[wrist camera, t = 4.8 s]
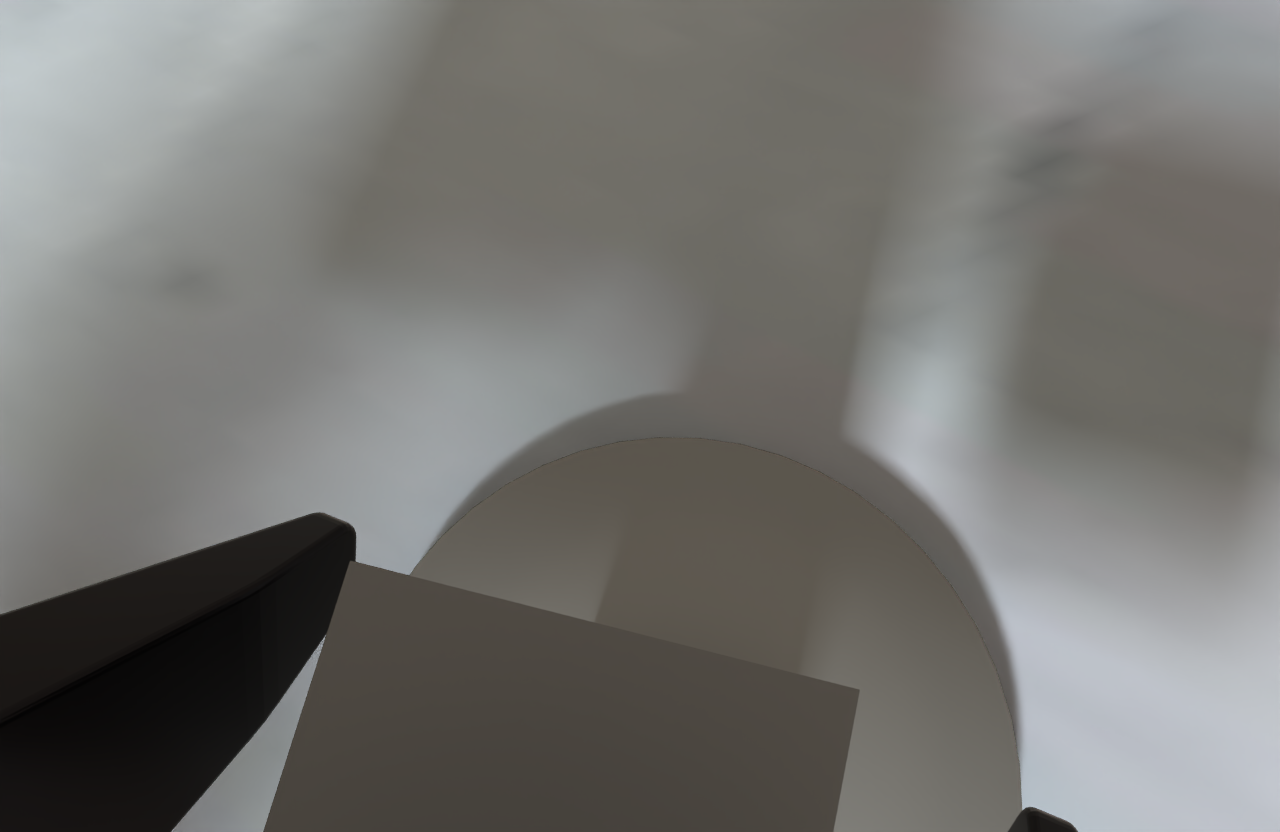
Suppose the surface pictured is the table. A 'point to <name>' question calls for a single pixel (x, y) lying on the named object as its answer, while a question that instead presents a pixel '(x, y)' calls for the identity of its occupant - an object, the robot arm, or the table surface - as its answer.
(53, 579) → the table surface
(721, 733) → the grey piece
